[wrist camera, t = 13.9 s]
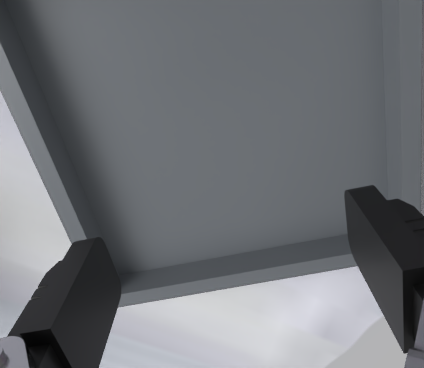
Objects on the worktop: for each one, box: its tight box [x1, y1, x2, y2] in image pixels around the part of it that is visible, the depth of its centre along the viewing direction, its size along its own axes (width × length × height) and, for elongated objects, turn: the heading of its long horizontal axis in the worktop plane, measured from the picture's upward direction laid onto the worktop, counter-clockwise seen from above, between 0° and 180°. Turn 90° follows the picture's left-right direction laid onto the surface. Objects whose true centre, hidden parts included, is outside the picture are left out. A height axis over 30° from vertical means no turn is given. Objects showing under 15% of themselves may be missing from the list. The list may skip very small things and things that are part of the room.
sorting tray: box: [0, 0, 422, 307], centre depth 21 cm, size 20×20×3 cm
